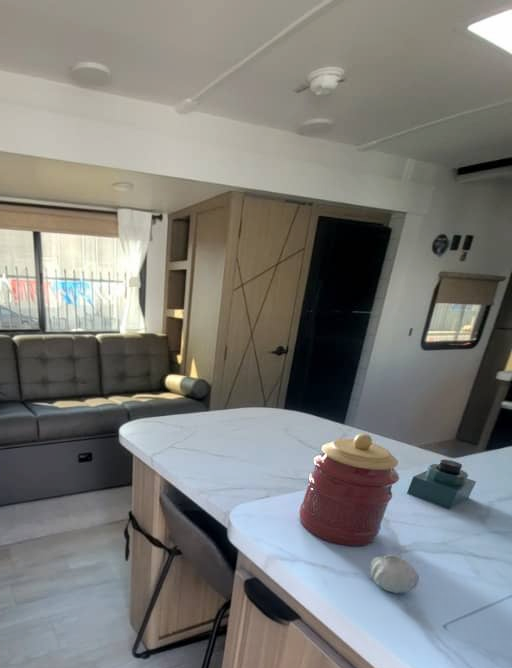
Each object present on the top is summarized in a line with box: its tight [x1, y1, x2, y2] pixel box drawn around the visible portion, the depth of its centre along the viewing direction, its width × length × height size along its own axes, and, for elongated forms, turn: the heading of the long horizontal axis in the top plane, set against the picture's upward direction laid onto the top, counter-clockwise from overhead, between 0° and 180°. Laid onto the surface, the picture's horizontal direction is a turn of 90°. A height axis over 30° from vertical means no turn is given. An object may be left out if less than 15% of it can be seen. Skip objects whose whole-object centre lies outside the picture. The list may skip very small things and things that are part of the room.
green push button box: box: [406, 463, 477, 510], centre depth 85 cm, size 10×8×6 cm
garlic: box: [369, 554, 420, 594], centre depth 57 cm, size 6×5×5 cm
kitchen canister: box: [299, 433, 400, 547], centre depth 69 cm, size 13×13×18 cm
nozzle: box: [438, 459, 463, 475], centre depth 84 cm, size 4×4×2 cm
